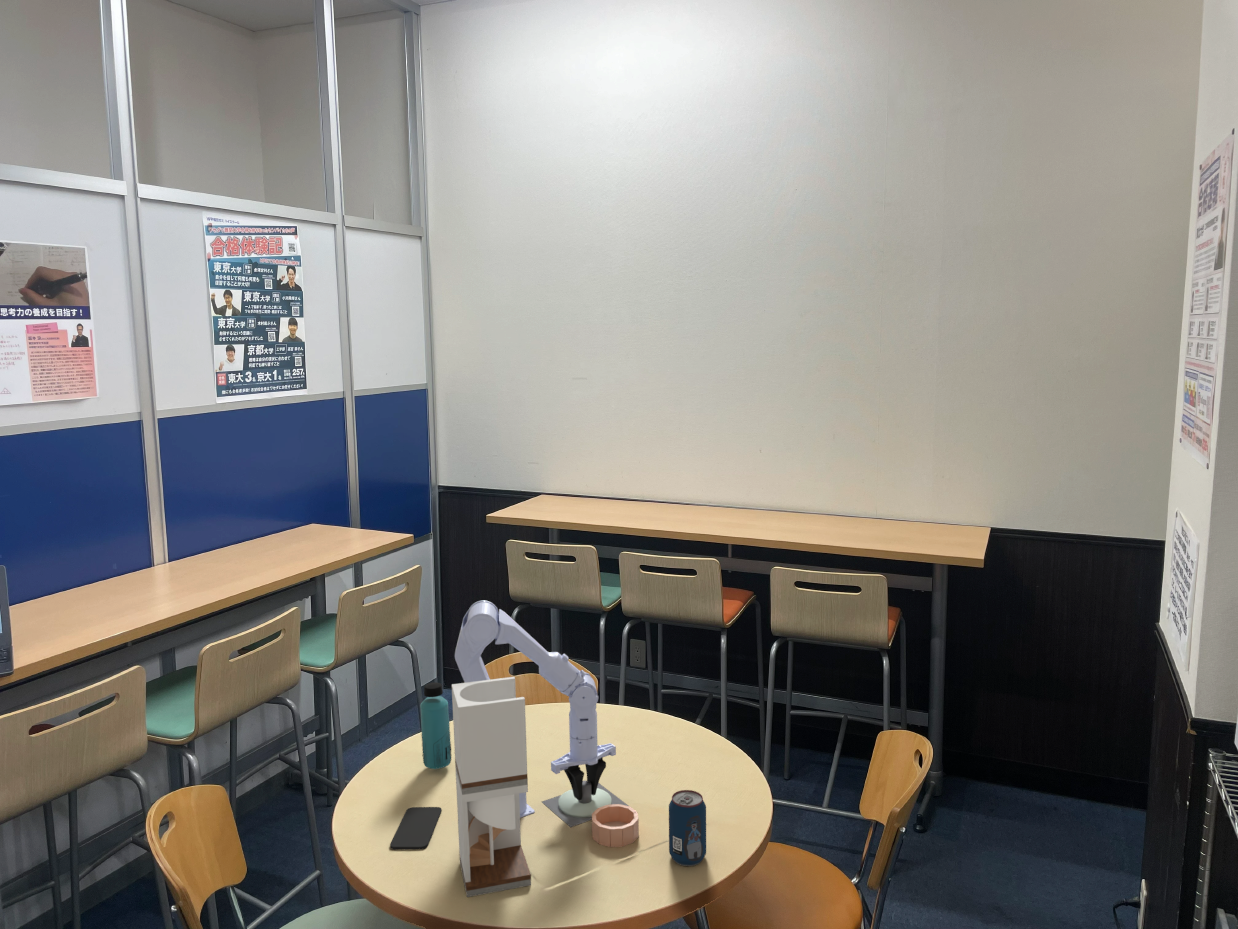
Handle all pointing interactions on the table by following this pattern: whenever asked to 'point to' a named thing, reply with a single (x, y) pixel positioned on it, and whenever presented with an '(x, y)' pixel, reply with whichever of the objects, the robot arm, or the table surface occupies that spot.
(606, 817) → the bowl
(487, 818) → the coffee maker
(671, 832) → the soda can
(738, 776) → the table surface
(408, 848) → the phone
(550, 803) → the mat
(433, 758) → the beverage bottle
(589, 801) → the lid
